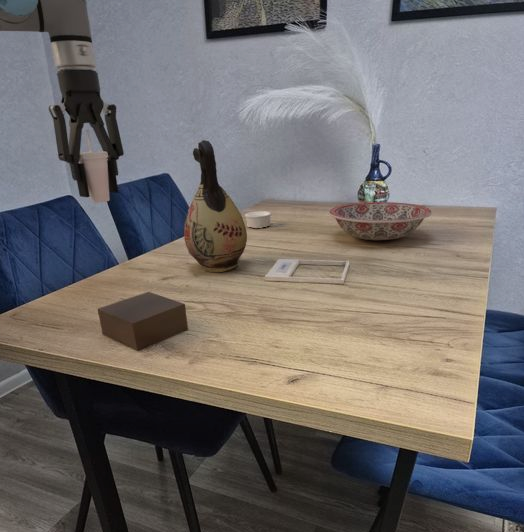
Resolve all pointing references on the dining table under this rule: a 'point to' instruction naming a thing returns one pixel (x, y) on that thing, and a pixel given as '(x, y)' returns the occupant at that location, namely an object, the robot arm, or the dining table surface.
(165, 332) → the block
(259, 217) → the ramekin
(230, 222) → the ceramic jug
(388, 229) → the ceramic bowl
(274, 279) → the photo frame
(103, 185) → the smoothie
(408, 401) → the dining table surface
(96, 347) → the dining table surface
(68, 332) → the dining table surface
